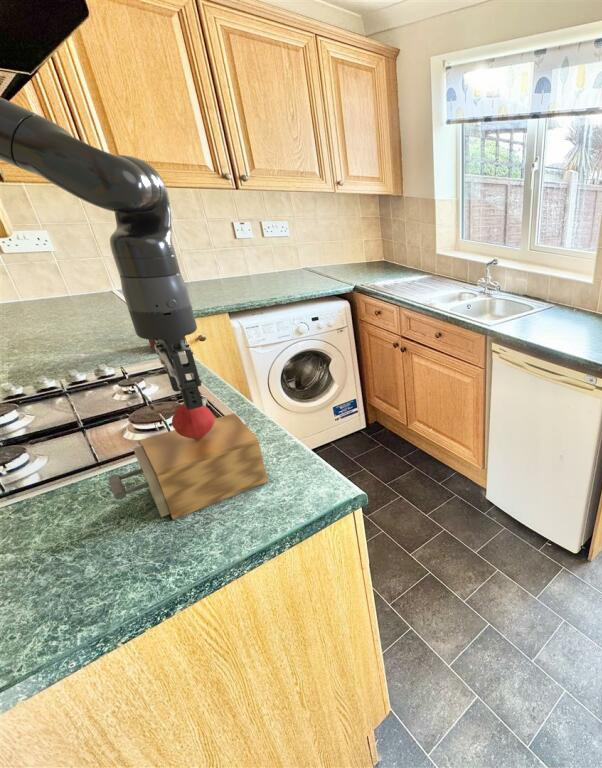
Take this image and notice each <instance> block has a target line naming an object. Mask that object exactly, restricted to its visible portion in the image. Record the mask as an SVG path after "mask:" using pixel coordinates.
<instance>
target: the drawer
mask: <svg viewBox="0 0 602 768" xmlns="http://www.w3.org/2000/svg"><path fill="white" fill-rule="evenodd" d="M132 449H133V453H134V454H135V457H136V460H137V463H138V465H139V468H138V469H135V470H132V471H129V472H126V473H123V474H120V475H119V474H116V473H114V474H110V475H109V476H108V478H107V479H108V480H107V481H108V483H109V486H110V488H111V489H110V490H111V492H112V494H113V498H114V499H116V500H123V499H125V498H126V497H127V495H129V494H131V493H135V492H138V491H141V490H143V489H146V488H148V491H149V493H150V494H151V497H152V499H153V502H154V504H155V506H156V508H157V511H158V513H159V515H160V517H161V518H163V517H166V516H168V515H170V511H169V508H168V506H167V503H166V500H165V498H164V495H163V492H162V489H161V487H160V484H159V481H158V479H157V476H156V474H155V472H154V470H153V468H152V466H151V463H150V461H149V459H148V457H147V455H146V453H145V451H144V449H143V447H142V445H140V446H136V447H133V448H132ZM140 474H142V475H143V478H144V480H145V481H144V482H143V483H140V484H138V485H134V486H132V487H129V488H125V486H124V484H123V481H122V480H124V479H125V480H126V479H128V478H130V477H134V476H137V475H140Z"/></svg>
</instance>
